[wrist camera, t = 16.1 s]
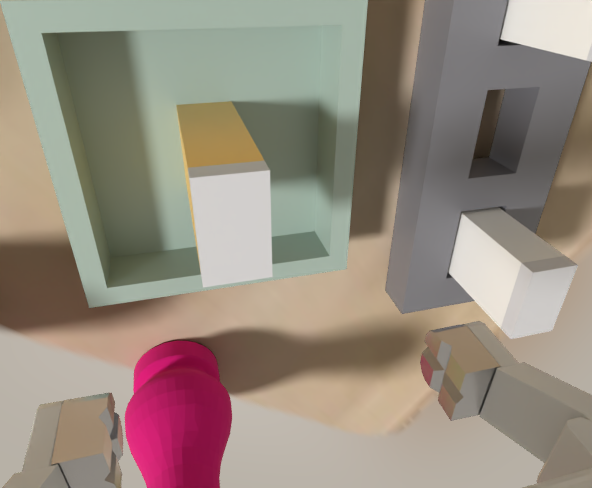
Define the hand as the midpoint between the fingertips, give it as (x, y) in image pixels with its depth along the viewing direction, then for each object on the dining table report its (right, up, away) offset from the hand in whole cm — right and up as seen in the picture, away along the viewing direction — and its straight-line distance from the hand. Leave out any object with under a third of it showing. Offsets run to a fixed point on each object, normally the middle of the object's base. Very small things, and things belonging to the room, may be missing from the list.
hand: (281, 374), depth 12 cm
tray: (-5, +9, +16) cm, 19 cm away
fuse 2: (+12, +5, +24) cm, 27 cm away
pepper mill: (-9, -6, +24) cm, 27 cm away
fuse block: (+13, +12, +20) cm, 26 cm away
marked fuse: (-5, +9, +15) cm, 18 cm away
